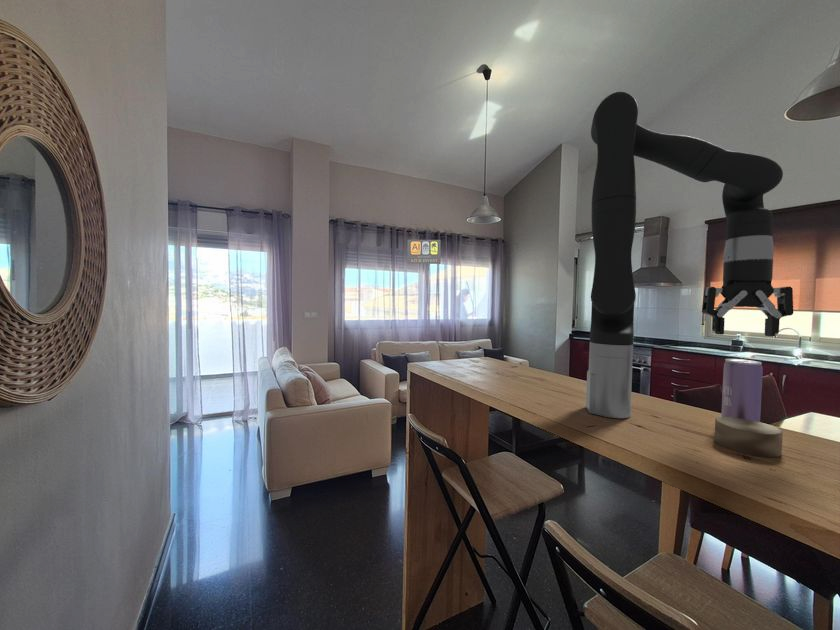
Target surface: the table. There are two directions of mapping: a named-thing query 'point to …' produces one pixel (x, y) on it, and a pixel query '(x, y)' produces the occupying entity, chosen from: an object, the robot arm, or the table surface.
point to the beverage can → (742, 389)
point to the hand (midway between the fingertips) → (744, 335)
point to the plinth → (748, 436)
